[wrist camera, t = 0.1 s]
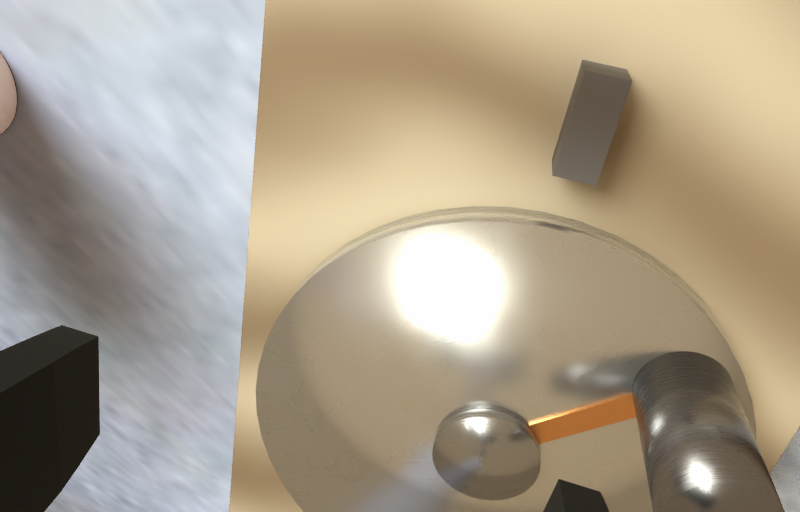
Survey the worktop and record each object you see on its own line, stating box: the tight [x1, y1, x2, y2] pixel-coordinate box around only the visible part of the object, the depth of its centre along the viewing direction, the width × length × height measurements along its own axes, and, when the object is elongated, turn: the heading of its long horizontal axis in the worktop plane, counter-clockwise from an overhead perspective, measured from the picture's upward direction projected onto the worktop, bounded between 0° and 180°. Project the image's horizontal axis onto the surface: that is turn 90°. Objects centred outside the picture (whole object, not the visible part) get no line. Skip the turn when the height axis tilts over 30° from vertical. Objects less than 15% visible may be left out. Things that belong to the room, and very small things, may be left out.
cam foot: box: [256, 206, 784, 512], centre depth 17 cm, size 14×14×5 cm
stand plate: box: [229, 0, 800, 512], centre depth 20 cm, size 24×16×3 cm, turn 170°
